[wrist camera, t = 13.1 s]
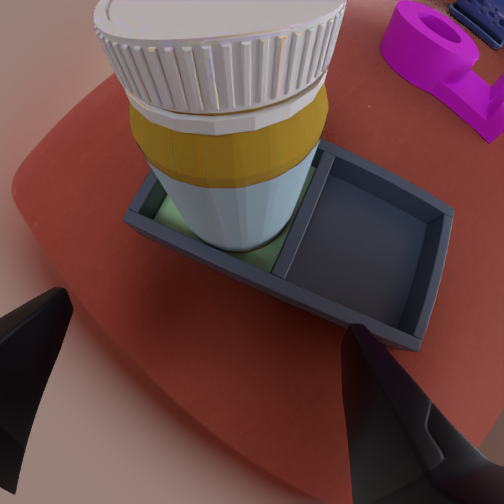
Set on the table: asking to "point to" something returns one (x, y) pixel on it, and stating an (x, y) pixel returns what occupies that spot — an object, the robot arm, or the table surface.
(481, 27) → the flower pot
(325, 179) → the blue-grey divided tray
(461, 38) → the tape dispenser
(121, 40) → the bottle
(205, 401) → the table surface
